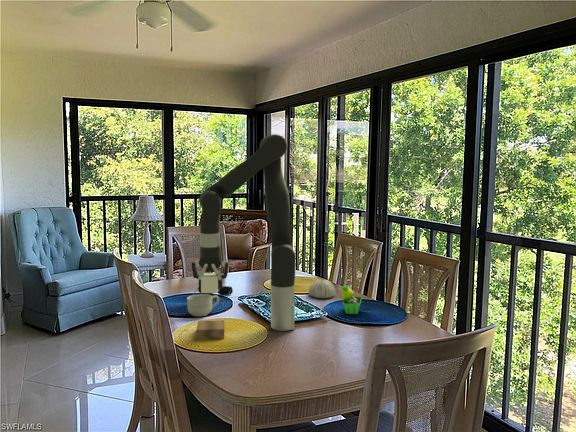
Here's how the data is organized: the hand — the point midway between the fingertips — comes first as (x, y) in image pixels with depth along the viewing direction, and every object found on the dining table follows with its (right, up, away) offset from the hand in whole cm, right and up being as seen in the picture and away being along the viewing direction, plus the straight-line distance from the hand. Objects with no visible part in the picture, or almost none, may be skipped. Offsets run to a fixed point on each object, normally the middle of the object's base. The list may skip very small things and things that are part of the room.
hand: (210, 289), depth 176 cm
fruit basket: (+57, -15, +32) cm, 67 cm away
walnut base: (0, -18, +2) cm, 18 cm away
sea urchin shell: (+46, -12, +56) cm, 73 cm away
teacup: (-7, -15, +26) cm, 31 cm away
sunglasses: (-7, -13, +50) cm, 52 cm away
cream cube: (0, -1, 0) cm, 1 cm away
